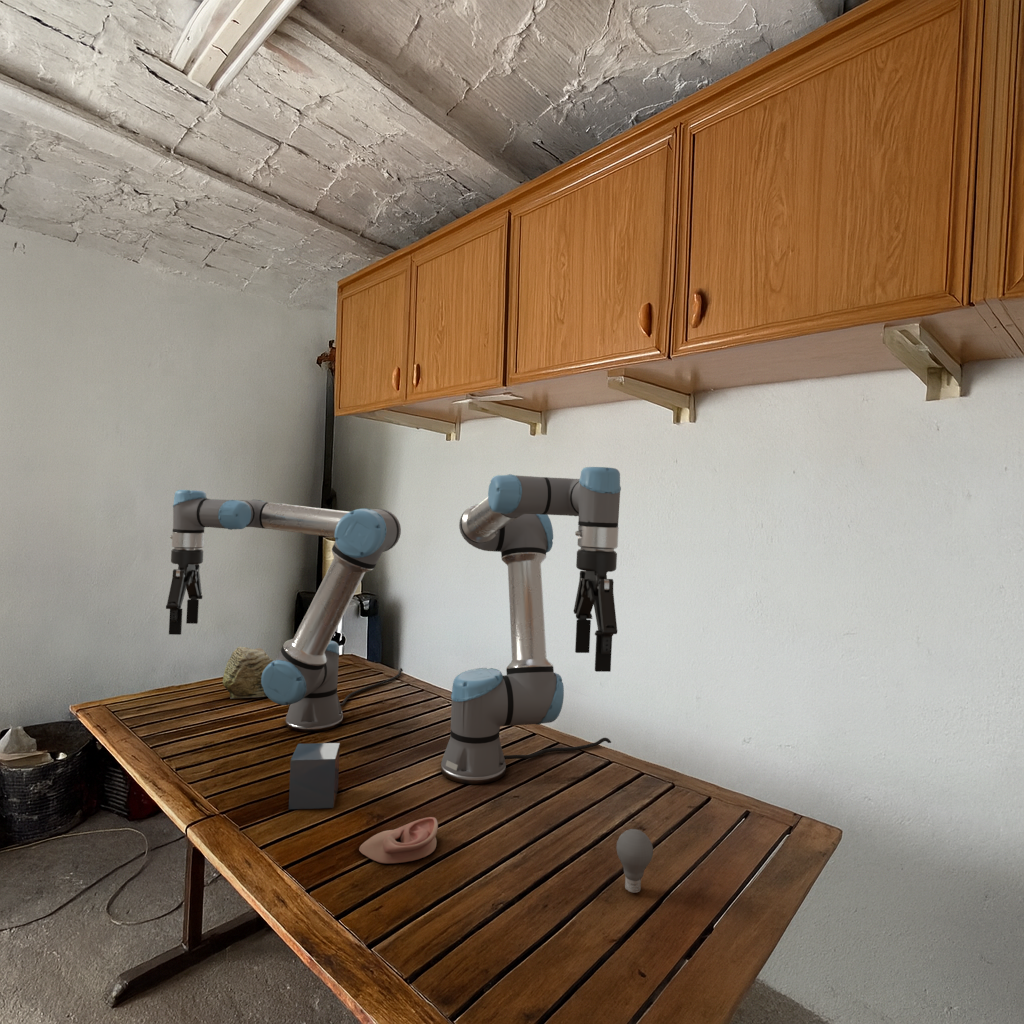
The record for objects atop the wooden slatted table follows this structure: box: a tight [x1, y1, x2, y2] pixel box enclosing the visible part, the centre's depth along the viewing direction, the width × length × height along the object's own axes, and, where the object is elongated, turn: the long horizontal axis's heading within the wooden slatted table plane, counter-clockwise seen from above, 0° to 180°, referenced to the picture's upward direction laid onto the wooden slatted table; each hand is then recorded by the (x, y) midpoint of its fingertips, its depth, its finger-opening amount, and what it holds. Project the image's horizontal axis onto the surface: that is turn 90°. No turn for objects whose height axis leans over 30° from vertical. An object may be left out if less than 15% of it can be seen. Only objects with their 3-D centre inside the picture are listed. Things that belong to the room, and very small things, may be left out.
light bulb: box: [615, 828, 654, 894], centre depth 106 cm, size 6×6×10 cm
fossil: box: [222, 646, 274, 699], centre depth 198 cm, size 9×18×15 cm, turn 132°
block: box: [288, 742, 341, 810], centre depth 133 cm, size 8×9×10 cm
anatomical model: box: [358, 816, 439, 864], centre depth 116 cm, size 13×4×12 cm
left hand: (183, 628), depth 167 cm, fingers open, 13 cm apart
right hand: (591, 661), depth 120 cm, fingers open, 13 cm apart
